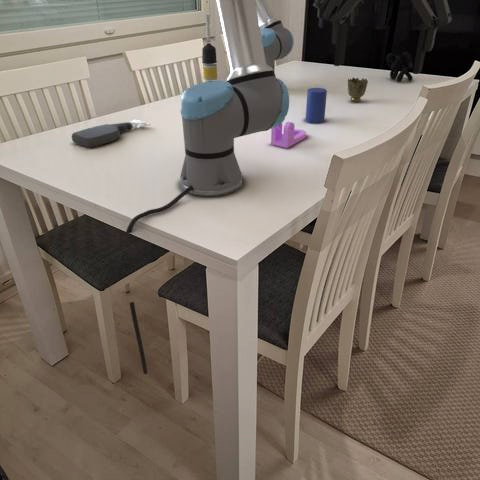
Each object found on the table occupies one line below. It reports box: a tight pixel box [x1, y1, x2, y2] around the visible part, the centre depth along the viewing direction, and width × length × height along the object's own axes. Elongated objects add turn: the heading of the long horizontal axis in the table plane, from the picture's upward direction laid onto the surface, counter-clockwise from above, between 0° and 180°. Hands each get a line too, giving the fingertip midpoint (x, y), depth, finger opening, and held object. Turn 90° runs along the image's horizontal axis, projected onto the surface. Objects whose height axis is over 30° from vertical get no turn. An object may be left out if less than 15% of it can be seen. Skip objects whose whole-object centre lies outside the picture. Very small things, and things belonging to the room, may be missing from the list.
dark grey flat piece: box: [71, 119, 151, 149], centre depth 142 cm, size 3×11×25 cm
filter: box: [201, 14, 218, 82], centre depth 171 cm, size 6×6×30 cm
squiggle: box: [385, 51, 414, 83], centre depth 198 cm, size 11×10×15 cm
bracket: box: [270, 121, 307, 149], centre depth 134 cm, size 13×6×7 cm, turn 143°
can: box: [305, 87, 328, 124], centre depth 150 cm, size 6×6×10 cm
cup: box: [347, 77, 369, 103], centre depth 170 cm, size 8×7×8 cm
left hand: (376, 68), depth 76 cm, fingers open, 13 cm apart
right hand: (336, 26), depth 173 cm, fingers open, 13 cm apart
